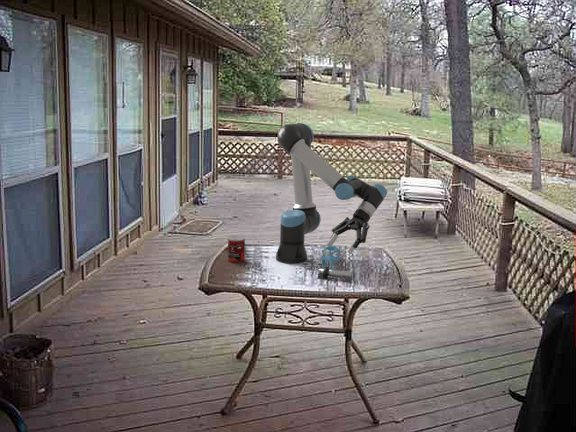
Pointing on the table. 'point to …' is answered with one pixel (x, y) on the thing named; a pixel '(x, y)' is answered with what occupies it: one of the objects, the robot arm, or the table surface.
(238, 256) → the canned food
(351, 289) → the table surface
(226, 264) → the table surface
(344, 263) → the table surface
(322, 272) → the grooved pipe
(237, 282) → the table surface
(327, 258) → the chair
